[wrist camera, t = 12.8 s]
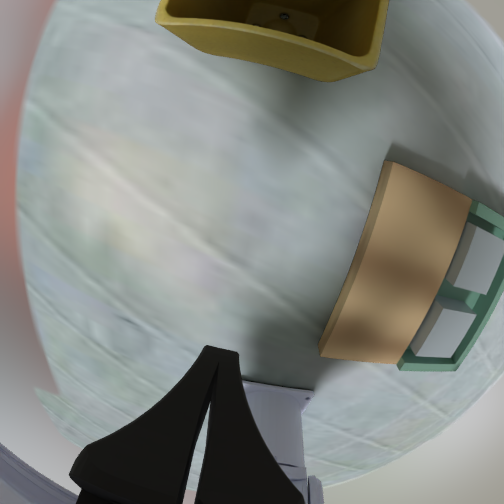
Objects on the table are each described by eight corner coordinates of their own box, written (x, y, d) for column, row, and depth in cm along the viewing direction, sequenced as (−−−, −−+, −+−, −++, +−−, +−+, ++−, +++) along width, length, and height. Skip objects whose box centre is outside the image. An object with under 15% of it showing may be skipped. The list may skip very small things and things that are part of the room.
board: (391, 353, 23) (396, 364, 21) (317, 344, 23) (320, 356, 21) (461, 195, 17) (472, 199, 15) (384, 160, 17) (393, 161, 15)
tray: (446, 357, 23) (455, 371, 21) (391, 353, 23) (399, 370, 20) (510, 224, 17) (525, 232, 15) (461, 195, 17) (479, 202, 15)
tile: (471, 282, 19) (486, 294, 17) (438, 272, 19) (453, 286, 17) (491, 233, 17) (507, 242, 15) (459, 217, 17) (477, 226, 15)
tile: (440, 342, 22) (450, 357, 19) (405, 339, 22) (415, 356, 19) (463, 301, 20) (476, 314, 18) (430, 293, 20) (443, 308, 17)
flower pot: (353, 11, 13) (397, -52, 4) (327, 106, 16) (377, 73, 7) (237, -18, 12) (217, -91, 4) (201, 74, 15) (148, 24, 7)
